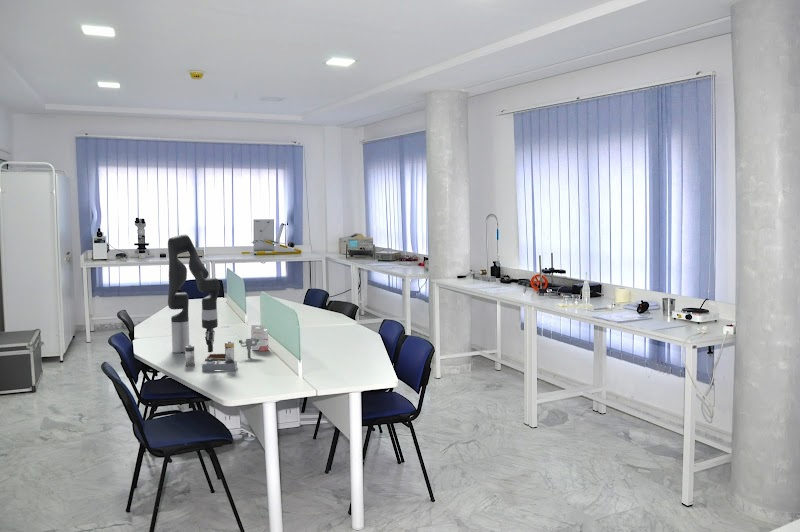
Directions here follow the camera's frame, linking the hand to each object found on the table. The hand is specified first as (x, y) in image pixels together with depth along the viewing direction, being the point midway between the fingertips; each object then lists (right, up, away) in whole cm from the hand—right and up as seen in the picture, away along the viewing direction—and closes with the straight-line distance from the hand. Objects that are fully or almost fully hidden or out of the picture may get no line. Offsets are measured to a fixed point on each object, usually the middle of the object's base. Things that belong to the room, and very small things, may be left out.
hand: (210, 352), depth 320 cm
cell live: (+9, -5, +1) cm, 11 cm away
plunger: (0, -9, +1) cm, 9 cm away
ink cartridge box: (+15, -5, +44) cm, 47 cm away
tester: (+4, -9, +1) cm, 10 cm away
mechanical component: (+13, -7, +27) cm, 30 cm away
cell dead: (-13, -8, +9) cm, 18 cm away
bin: (0, -8, +14) cm, 16 cm away
